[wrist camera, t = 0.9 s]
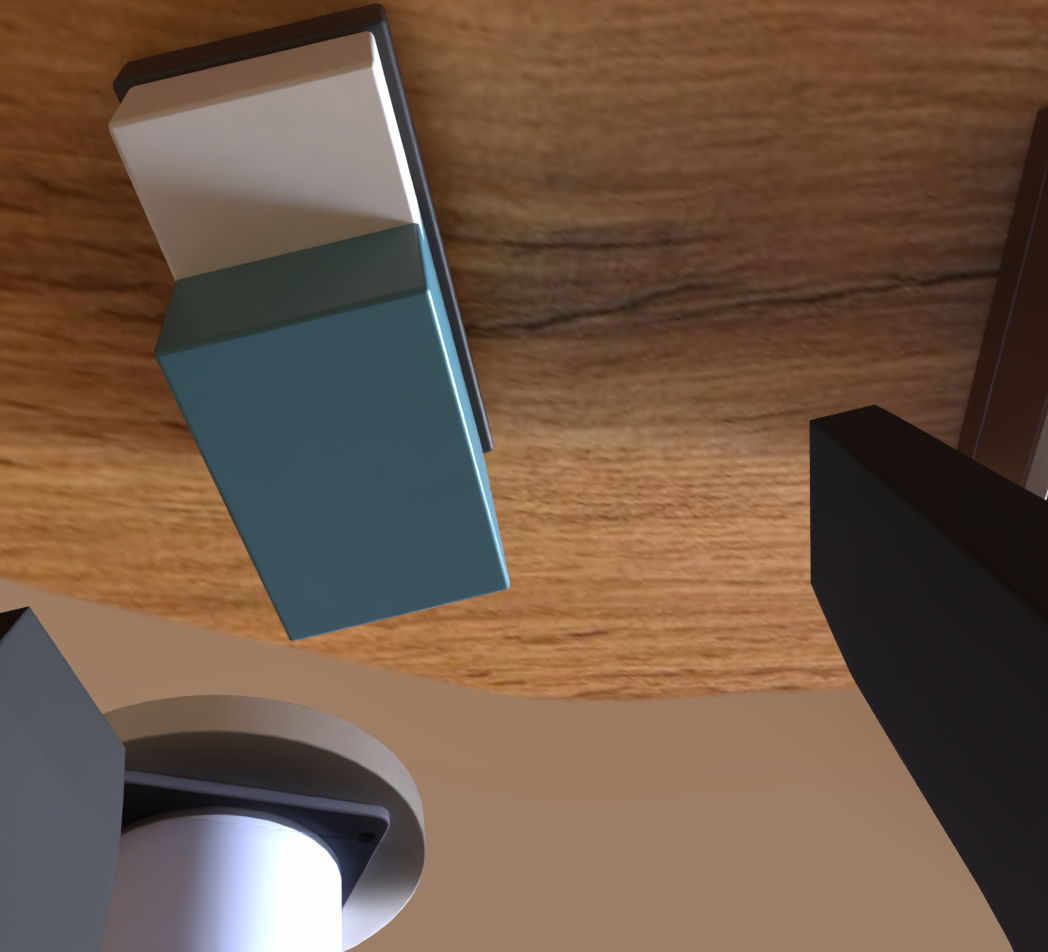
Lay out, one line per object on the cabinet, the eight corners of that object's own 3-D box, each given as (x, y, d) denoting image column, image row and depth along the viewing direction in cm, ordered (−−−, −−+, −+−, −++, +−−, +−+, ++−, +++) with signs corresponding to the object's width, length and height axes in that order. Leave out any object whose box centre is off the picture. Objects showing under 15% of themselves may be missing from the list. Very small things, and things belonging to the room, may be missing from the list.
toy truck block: (487, 420, 18) (526, 592, 14) (291, 468, 18) (278, 653, 14) (382, 1, 13) (397, 92, 10) (122, 62, 13) (44, 177, 10)
